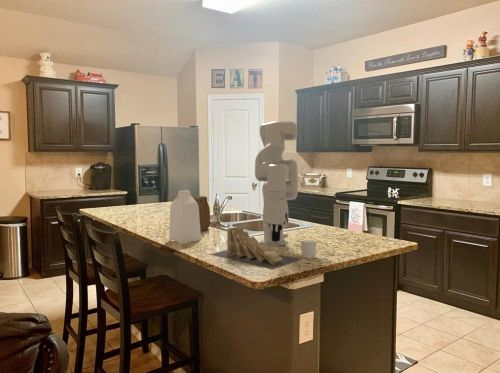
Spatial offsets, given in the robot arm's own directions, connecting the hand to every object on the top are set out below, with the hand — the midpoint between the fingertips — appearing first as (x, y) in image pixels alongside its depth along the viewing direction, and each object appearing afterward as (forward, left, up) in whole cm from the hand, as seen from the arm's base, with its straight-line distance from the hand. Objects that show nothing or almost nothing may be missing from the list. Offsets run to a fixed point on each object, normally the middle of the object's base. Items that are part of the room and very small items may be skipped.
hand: (276, 240), depth 165 cm
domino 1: (0, -18, -9) cm, 20 cm away
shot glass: (-19, +3, -10) cm, 22 cm away
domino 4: (0, +1, -8) cm, 9 cm away
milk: (-7, -66, -10) cm, 67 cm away
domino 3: (0, -5, -9) cm, 10 cm away
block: (-32, -82, -10) cm, 89 cm away
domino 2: (0, -11, -9) cm, 14 cm away
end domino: (0, -24, -9) cm, 26 cm away
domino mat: (-3, -14, -10) cm, 18 cm away
